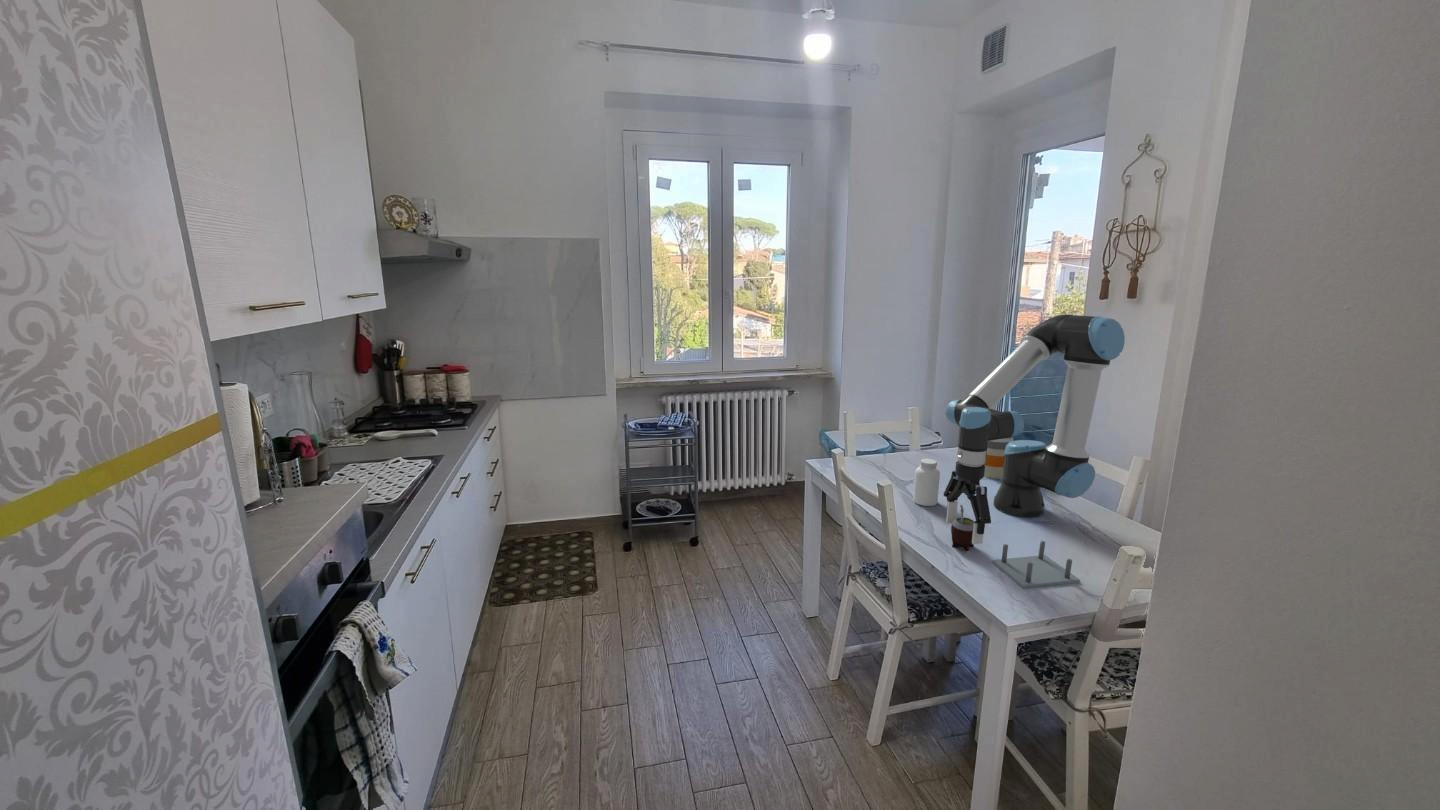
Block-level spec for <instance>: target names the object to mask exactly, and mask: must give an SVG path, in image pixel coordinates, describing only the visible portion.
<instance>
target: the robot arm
mask: <svg viewBox="0 0 1440 810" xmlns="http://www.w3.org/2000/svg"><path fill="white" fill-rule="evenodd" d="M1019 341H1020V342H1019V345H1018V346H1017V347H1015V349H1014V350H1013V351H1012V352H1011V353H1010V354H1009V355H1008V356H1006V358H1005V359H1004V360H1003V361H1002V362H1001V363H999V365H998V366H996V367H995V369H994V370H992V372H990V374H988V376H986V377H985V378H984V379H983V381H982V382H980V384H978V385H977V386H976V387H975V388H974V389H973V390H972V391H971V392H970V393H969V394H968V395H967V396H966V397H965V398H964V399H954V400H951V401H950V402H949V403H948V404H947V407H945V408H946V409H945V416H946V418H947V419H946V420H948V421H949V422H950V423H951V424H953V425H955V426H958V438H957V439H958V441H957V442H958V444H957V452H956V462H955V469H954V470H952V471H951V475H950V476H951V477H950V479H949V481H948V483H947V484H946V488H945V490H944V492H943V497H945V498H946V501H947V506H946V519H945V522H946V524H952V523H953V521H954V520H955V519H957V516H958V515H957V513H958V506H959V505H958V503H959V502H958V500H959V497H961V495H962V494H964V495H966V498H967V500H969V502H970V505H971V508H972V511H973V515H974V518H975V520H973V521H974V526H973V535H972V544H973V545H982V544H983V541H984V534H985V528H986V527H985V526H986V525H987V524H991V523H992V518H991V517H992V516H991V511H990V507H989V501H988V487H987V486H981V483H980V481H981V480H982V479H984V478H985V477H984V472H985V465H984V464H985V463H986V455H987V446H988V441H991V440H997V439H1004V438H1011V437H1012V438H1014V437H1018V436H1019V435H1021V434H1022V433H1023V431H1024V428H1025V421H1024V418H1023V417H1022V414H1020V413H1019V412H1017V411H1015V410H1003V411H1000V410H996V409H993V408H994V407H995V405H997V404H998V403H999V402H1000V401H1001V400H1002V399H1003V398H1004V397H1005V396H1006V395H1007V394H1008V393H1009V392H1010V391H1011V390H1012V389H1013V388H1014V387H1015V386H1016V385H1017V384H1018V383H1019V382H1020V381H1021V380H1022V379H1023V378H1024V377H1025V376H1026V375H1027V374H1028V373H1029V372H1030V371H1031V370H1033V368H1034V367H1035V366H1036V365H1037V364H1038V363H1039V362H1041V361H1046V360H1048V358H1050V356H1051V355H1054V354H1058V353H1062V354H1064V356H1063V362H1064V363H1065V365H1066V366H1067V368H1066V369H1067V371H1066V375H1065V380H1064V385H1063V389H1062V394H1061V399H1060V404H1059V410H1058V413H1057V418H1056V424H1055V429H1054V434H1053V438H1052V442H1051V444H1049V445H1047V443H1045V442H1044V441H1043V442H1042V441H1040V440H1031V439H1030V440H1029V439H1027V440H1026V439H1019V440H1014V441H1012V442H1009V443H1008V444H1007V445H1006V449H1005V453H1004V463H1003V474H1002V478H1001V483H1000V486H999V488H998V490H997V492H996V494H995V496H994V497H993V507H995V508H996V509H997V510H998V511H1000V512H1002V513H1004V514H1008V515H1011V516H1015V517H1022V518H1036V517H1040V516H1042V515H1044V514H1045V510H1046V509H1045V508H1046V507H1045V501H1044V498H1043V492H1042V489H1044V490H1046V491H1047V490H1048V491H1049V492H1052V493H1054V494H1056V495H1058V496H1062V497H1065V498H1069V499H1075V498H1079V497H1081V496H1083V495H1084V494H1085V493H1086V492H1087V491H1089V489H1091V486H1092V485H1093V483H1094V481H1095V478H1096V470H1095V467H1094V466H1093V465H1092V464H1091V463H1089V461H1090V454H1089V453H1088V451H1087V450H1086V445H1087V441H1088V436H1089V432H1090V427H1091V422H1092V417H1093V413H1094V408H1095V403H1096V399H1097V396H1098V395H1097V394H1098V389H1099V385H1100V380H1101V377H1102V376H1101V375H1102V371H1104V370H1105V369H1106V368H1107V367H1109V366H1110V364H1111V361H1112V360H1116V359H1117V358H1118V357H1119V356H1120V353H1122V351H1124V346H1125V331H1124V328H1123V327H1122V325H1121V323H1120V322H1118V321H1117V320H1116V319H1114V318H1111V317H1103V316H1093V315H1091V316H1090V315H1079V314H1077V315H1076V314H1067V313H1065V314H1057V315H1055V316H1052V317H1049V318H1047V319H1045V320H1043V321H1042V322H1040V323H1038V324H1037V325H1036V326H1034V327H1033V328H1031V329H1030V330H1029V331H1027V333H1026V334H1024V336H1023V337H1021V339H1020V340H1019Z"/></svg>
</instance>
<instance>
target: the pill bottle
mask: <svg viewBox="0 0 1440 810" xmlns="http://www.w3.org/2000/svg"><path fill="white" fill-rule="evenodd" d="M937 467H938V462H937V460H935V459H931V458H922V459H920V462H919V466H917V467H916V469H915V472H914V485H913V497H912V498H913V502H914V503H915V504H917V505H920V506H922V507H923V506H924V507H933V506H936V505H937V504H938V498H939V490H940V478H941V473H940V469H938V468H937Z"/></svg>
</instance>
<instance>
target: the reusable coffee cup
mask: <svg viewBox="0 0 1440 810" xmlns="http://www.w3.org/2000/svg"><path fill="white" fill-rule="evenodd" d="M1012 441H1015V440H1014V437H1011V438H1004V439H997V440H991V441H988V446H987V455H986V463H985V464H984V465H985V472H984V477H983V478H987V479H995V480H998V479H999V480H1000V479H1001V480H1002V474H1003V463H1004V453H1005V449H1006V445H1007V444H1008V443H1009V442H1012Z"/></svg>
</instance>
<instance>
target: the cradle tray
mask: <svg viewBox="0 0 1440 810" xmlns="http://www.w3.org/2000/svg"><path fill="white" fill-rule="evenodd" d="M1045 546H1046V541H1044V540H1040V541H1039V549H1038V555H1032V556H1021V557H1009V558H1008V551H1009V545H1008V544H1006V543H1004V544H1003V545H1002V554H1001V558H1000V559H999V558H998V559H992V560H991V563H992V564H993V565H994V566H996V567H997V568H998V569H999V570H1000V571H1002V572H1003V574H1004V575H1006V576H1007V577H1008V578H1010V579H1011V580H1012V581H1013V582H1014V583H1016V584H1017V585H1018V586H1019V587H1020V588H1022V589H1027V588H1036V587H1047V586H1058V585H1067V584H1068V585H1069V584H1078V583H1081V582H1080V581H1081V579H1079V577H1077V576H1076V575H1074V574H1072V572H1071V571H1072V565H1073V559H1071V558H1066V563H1065V568H1064V567H1063V566H1062V565H1061V564H1059V563H1057V562H1056V561H1054V560H1053V559H1051V558H1050V557H1049V556H1048V555H1046V554H1045Z"/></svg>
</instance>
